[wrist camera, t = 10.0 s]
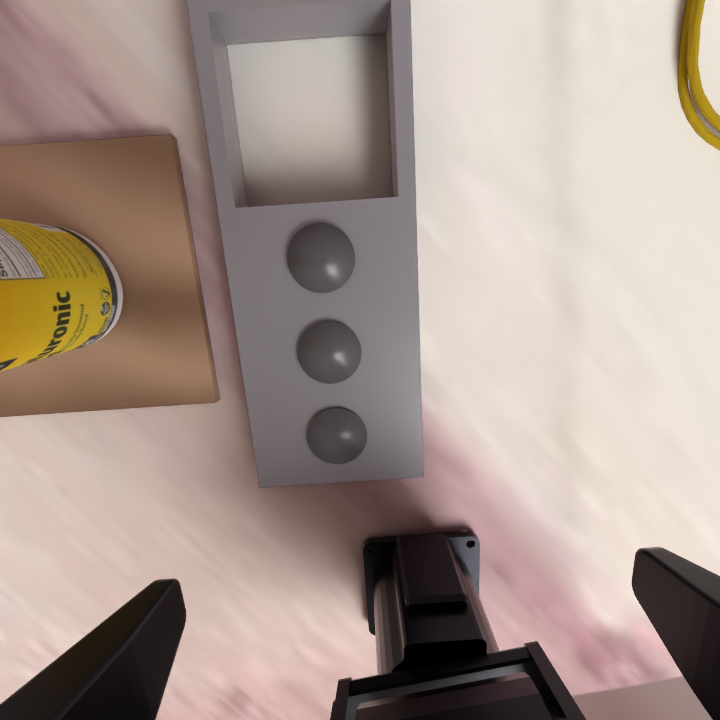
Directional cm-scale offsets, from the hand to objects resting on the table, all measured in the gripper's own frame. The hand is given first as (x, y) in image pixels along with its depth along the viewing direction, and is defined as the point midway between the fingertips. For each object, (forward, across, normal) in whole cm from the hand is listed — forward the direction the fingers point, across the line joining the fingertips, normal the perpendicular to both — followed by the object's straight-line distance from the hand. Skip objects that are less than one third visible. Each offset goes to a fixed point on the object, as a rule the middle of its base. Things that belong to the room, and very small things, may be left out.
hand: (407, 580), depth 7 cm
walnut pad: (+12, +14, -6) cm, 19 cm away
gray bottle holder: (+12, +2, -7) cm, 14 cm away
